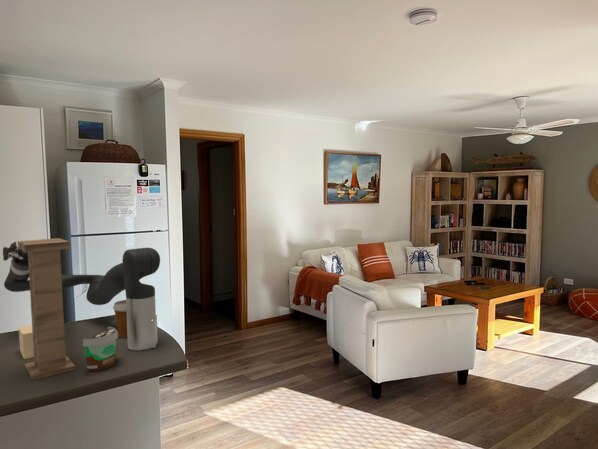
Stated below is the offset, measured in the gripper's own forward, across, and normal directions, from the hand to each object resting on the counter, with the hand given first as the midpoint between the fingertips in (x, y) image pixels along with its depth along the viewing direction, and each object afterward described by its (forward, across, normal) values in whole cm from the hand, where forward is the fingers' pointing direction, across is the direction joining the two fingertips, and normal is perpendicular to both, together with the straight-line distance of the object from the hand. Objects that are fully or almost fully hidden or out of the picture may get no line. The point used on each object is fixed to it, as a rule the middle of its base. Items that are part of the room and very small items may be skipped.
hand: (30, 243), depth 150 cm
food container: (+14, +12, +49) cm, 52 cm away
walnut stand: (+7, -1, +44) cm, 45 cm away
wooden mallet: (-14, -1, +32) cm, 35 cm away
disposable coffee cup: (-6, +27, +37) cm, 46 cm away
